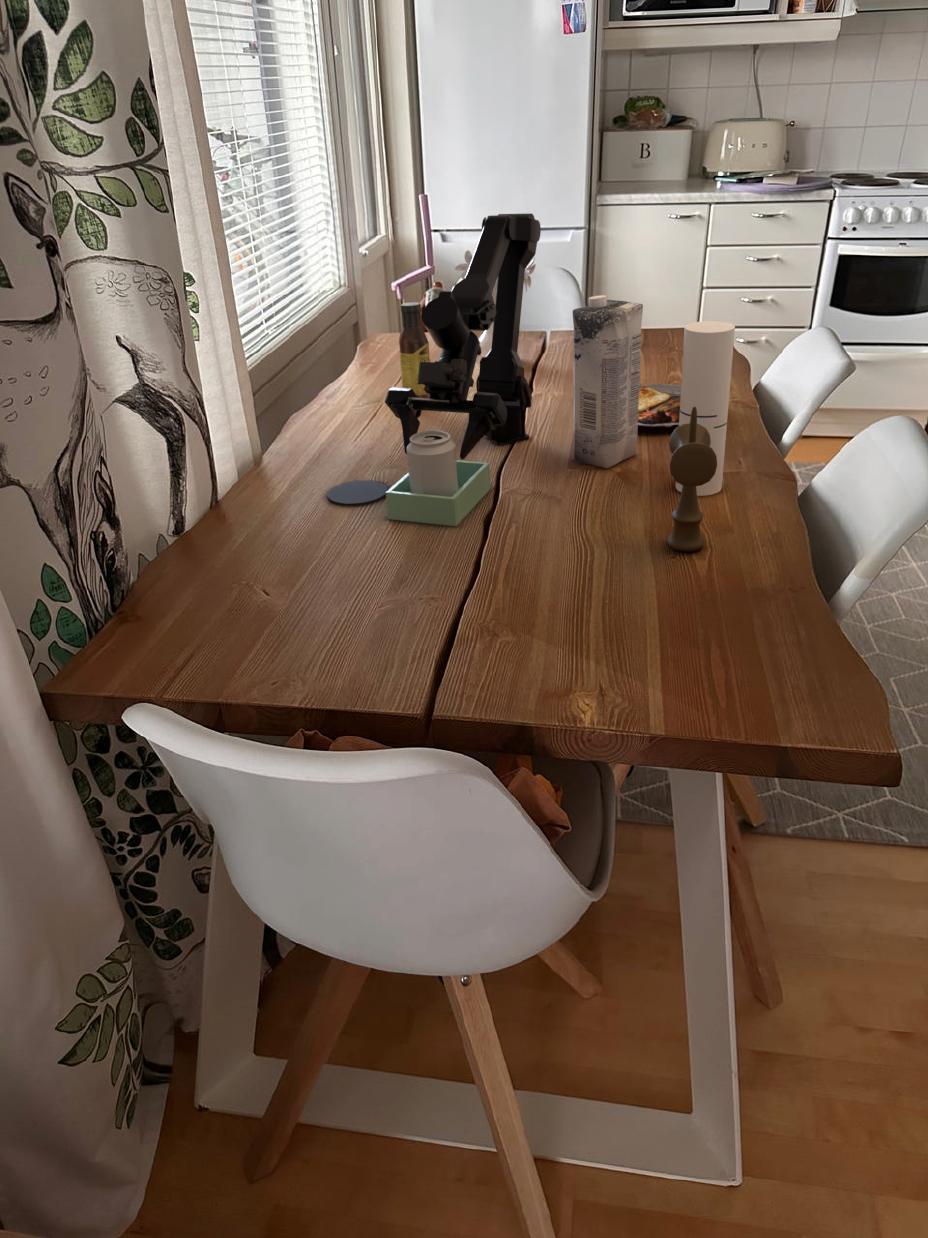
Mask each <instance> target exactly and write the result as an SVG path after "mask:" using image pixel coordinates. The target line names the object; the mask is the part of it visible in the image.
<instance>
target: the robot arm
mask: <svg viewBox="0 0 928 1238" xmlns="http://www.w3.org/2000/svg"><path fill="white" fill-rule="evenodd" d="M541 233H542V230H541V223H540V220H539V219H536V218H535V215H534V214H533V213H529V212H527V213H499V214H497V215H496V214H495V215H494V214H493V215H488V216H485V217H483V219H482V222H481V234H480V236H479V238H478V242H477V245H476V247H475V249H474V253H473V255H472V257H473V258H472V261H471V264H470V266H469V269H468V272H467V275H466V276H465V278H464V279H461V280H460V281H459V282H457V283H456V284H454V286H453V287H452V288H451V290H450V291H448V290H440V291H439V293H438V297H436V298H433V299H432V300H430V301H429V302H428V303H427V304H426V305H425V306H424V308H422V309H421V314H420V317H421V323H422V324H423V325H424V327H425V329H426V330H427V332H428V334H429V335H430V337H431V339H432V340H433V342H434V344H435V345H436V346H437V347H438V348H439V349H441V350H440V354H439V358H438V361H436V360H435V361H434V362H433V361H432V362H431V361H430V362H419V371H418V382H417V383H418V384H423V385H425V387H424V390H425V392H426V393H429V394H430V398H419V397H417V395H416V394H415V392H414V391H413V390H412V389H409V388H402V387H391V388H389V390H388V391H387V392H386V396H385V400H384V403H385V405H386V406H387V407H388V409H389V410H390V411H391V413H392V414H393V415H394V416H395V417H396V418H398V419H399V420H400V425H401V429H402V438H403V439H402V440H403V449H404V453H405V455H406V456H407V446H408V445H409V443H410V442H411V441H410V437H411V436H412V435H414V434H416V433H419V428H420V425H421V421H420V420H419V418H420V417H421V415H422V412H423V411H424V412H425V411H426V412H439V413H440V412H444V413H459V414H468V421H467V426H466V429H465V432H464V435H463V439H462V443H461V446H460V451H459V458H460V459H461V461H465V459H466V458H467V457H468V455H469V454H470V453H471V452H472V450H473V449H474V448H475V447H476V446H477V444H478V443H480V441H481V440H482V439H484V438H485V437H486V438H487V439H489V440H490V441H492V442H494V443H495V444H496V445H499V446H500V445H504V444H509V443H515V442H521V441H524V440H529V439H530V435H529V434H527V433H526V409H527V408H531V407H532V399H533V396H532V395H533V392H532V388H531V387H530V385H529V382H528V380H527V379H526V376H525V365H524V364H523V361H522V360H521V358H520V356H519V354H518V349H519V337H520V326H521V316H522V306H523V294H524V286H525V285H524V274H525V268H526V267H527V266H528V265H529V264H530V263H531V262H532V260H533V259H534V258H535V256H536V253H537V246H538V242H539V241H540V239H541ZM497 277H498V280H497ZM496 280H497V291H496V302H495V303H494V299H493V296H492V292H493V289H494V286H495V283H496ZM493 322H494V324H493V336H492V347H491V350H490V352H489V353H488V354H487V356H486V357H482V356H481V359H480V360H479V373H478V375H477V377H476V382H475V380H474V378H473V374H474V371H475V366H476V363H477V358H478V356H480V355H481V347H480V341H479V337H478V336H477V334H476V333H475V332H476V331H477V332H478V331H480V332H484V331H485V330H488V329H489V328H490V326H491V324H492V323H493ZM473 331H475V332H473ZM475 383H476V384H475ZM474 384H475V386H476V392H475V393H473V396H472V400H471V399H470V400H469V399H468V395H469V392H470V388H474Z"/></svg>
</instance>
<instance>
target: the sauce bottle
mask: <svg viewBox="0 0 928 1238" xmlns="http://www.w3.org/2000/svg"><path fill="white" fill-rule="evenodd" d="M400 312H401V314H402V315H401V316H402V326H403V327H402V329H401V332H400V333H399V337H398V345H399V346H398V347H399V352H398V353H399V363H400V364H399V365H400V375H401V388H409V389H412V390H413V391H414V392H415V394H416V395H417V397H419V398H430V394H429V393H426V392H425V390H424V387H425V385H423V384H418V383H417V382H418V371H419V362H431V357H430V356H431V355H430V343H429V340H428V337H427V335H426V333H425V329H424V328H423V325H422V324H423V322H422V318H421V312H422V308H421V303H420V302H418V301H417V302H416V301H411V302H403V303H401V304H400Z"/></svg>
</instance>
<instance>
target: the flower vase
mask: <svg viewBox="0 0 928 1238" xmlns="http://www.w3.org/2000/svg"><path fill="white" fill-rule="evenodd" d="M472 258H473V255H472V252H471V250H469V249H468V250H466V251H465V252H464V261H465V263H459V264H458V265H456V267H455V268H454V270H455V271H456V272H462V274H461V275H460V278H461V280H463V279H464V278H465V276H466V275H467V272H468V269H469V266H470V264H471V261H472ZM535 259H536V257H533V258H532V260H531V261H530V263H529V264H528V266H527V267H526V268H525V274H524V285H523V286H524V290H525V293H527V291H528V288H529V289H530V288H531V286H532V278H531V276H530V275H532V274H533V273H534V271H535V269H536V265H537V264H536V263H534V262H535ZM497 280H498V277H497ZM497 280H496V283H495V286H494V289H493V292H492V296H493V299H494V303H495V302H496V291H497ZM493 324H494V322H493V323H492V324H491V326H490V328H489V329H488V330H485V331H483V333H482V334H481V335H479V336H480V337H478V339H479V341H480V347H481V355H479V356H480V357H481V358H482V357H486V356H487V354H488V353H489V352H490V350H491V347H492V336H493Z"/></svg>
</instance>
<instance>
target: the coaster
mask: <svg viewBox="0 0 928 1238" xmlns="http://www.w3.org/2000/svg"><path fill="white" fill-rule="evenodd" d="M388 490H389V489H388V487H387V485H386V484H384V483H382V482H379V481H375V480H353V481H352V480H351V481H347V482H343V483H340V484H337V485H336V486H333V487H332V488H330V489H329V490H328V492H327V494H326V495H327V496H326V497H327V500H328V501H329V502H330V503H332V504H335V505H339V506H346V507H355V506H356V507H357V506H364V505H369V504H373V503H376V502H378V501H380V500H382V499H383V498H386V492H387V491H388Z"/></svg>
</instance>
